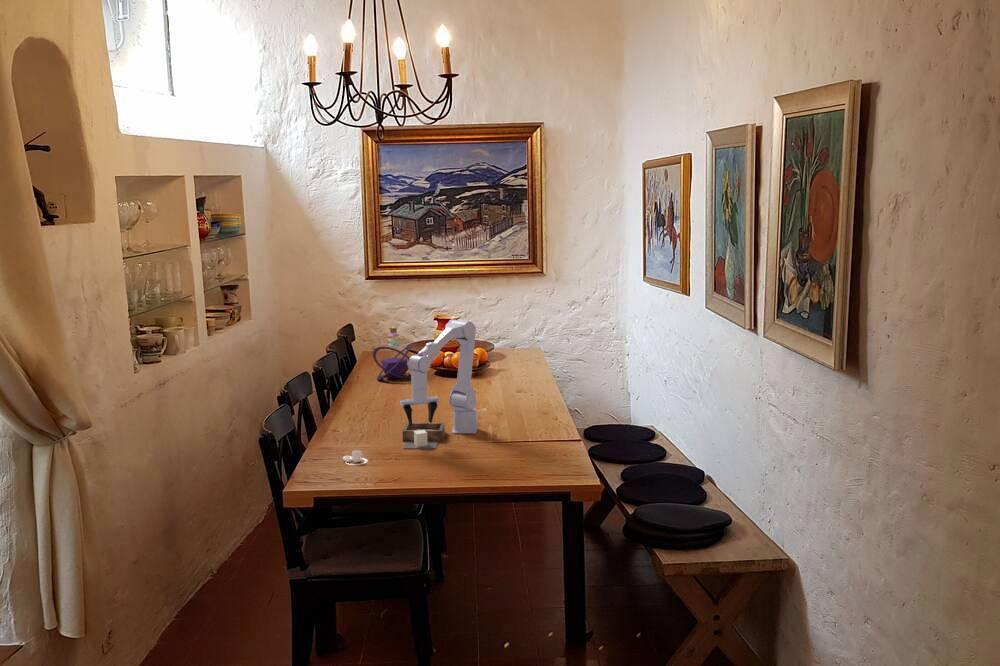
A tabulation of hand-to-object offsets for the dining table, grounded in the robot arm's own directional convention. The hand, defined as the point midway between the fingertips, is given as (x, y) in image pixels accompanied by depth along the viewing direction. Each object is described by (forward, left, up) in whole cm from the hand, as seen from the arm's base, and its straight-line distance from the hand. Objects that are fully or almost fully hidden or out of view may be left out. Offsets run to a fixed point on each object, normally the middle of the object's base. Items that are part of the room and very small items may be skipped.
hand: (420, 423), depth 339 cm
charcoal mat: (0, 0, -9) cm, 9 cm away
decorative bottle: (+25, -107, -9) cm, 111 cm away
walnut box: (0, -11, -9) cm, 14 cm away
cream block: (0, 0, -8) cm, 8 cm away
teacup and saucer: (+22, +15, -9) cm, 28 cm away
